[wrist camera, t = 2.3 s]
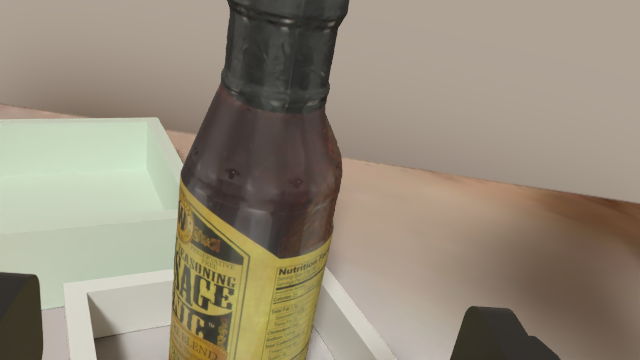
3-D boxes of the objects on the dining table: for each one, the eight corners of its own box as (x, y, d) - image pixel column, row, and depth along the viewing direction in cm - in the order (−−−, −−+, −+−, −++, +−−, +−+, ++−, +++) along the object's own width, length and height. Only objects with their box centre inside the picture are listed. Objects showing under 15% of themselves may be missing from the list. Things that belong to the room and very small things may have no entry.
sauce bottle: (153, 366, 28) (165, -62, 19) (269, 340, 31) (322, -42, 22) (188, 478, 23) (224, -37, 14) (322, 434, 26) (417, -15, 17)
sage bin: (156, 173, 47) (157, 117, 45) (206, 285, 34) (211, 214, 32) (-73, 186, 40) (-84, 120, 38) (-117, 333, 27) (-138, 247, 25)
